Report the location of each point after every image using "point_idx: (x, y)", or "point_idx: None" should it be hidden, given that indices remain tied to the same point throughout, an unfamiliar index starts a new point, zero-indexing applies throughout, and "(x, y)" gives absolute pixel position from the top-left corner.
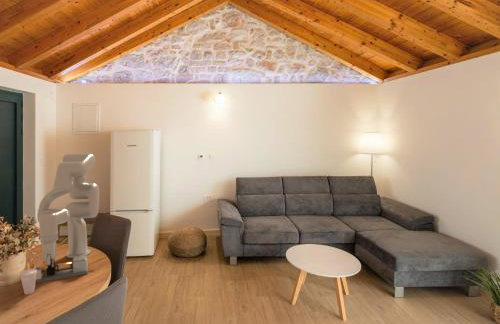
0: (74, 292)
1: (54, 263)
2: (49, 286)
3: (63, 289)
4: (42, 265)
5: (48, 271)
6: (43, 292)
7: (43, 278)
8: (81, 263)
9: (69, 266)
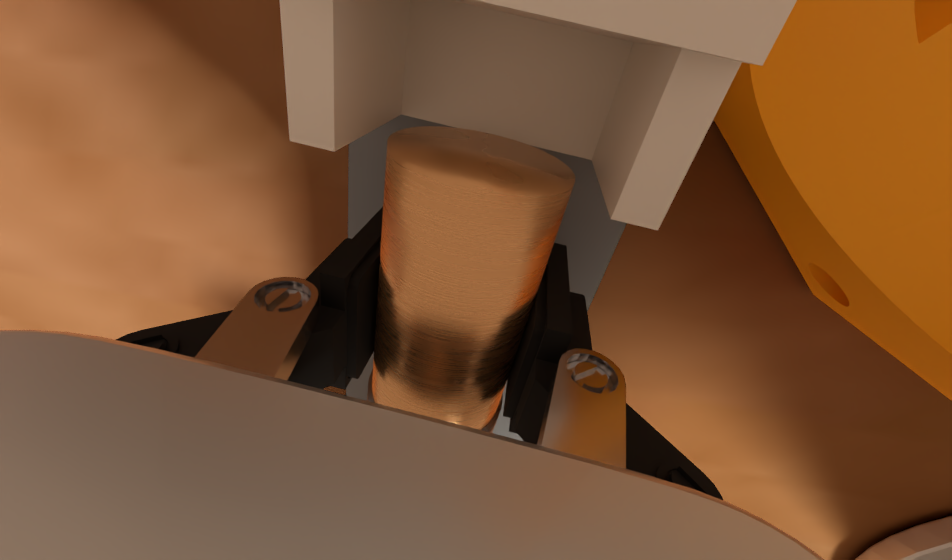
0: (13, 329)
1: (514, 422)
2: (171, 176)
3: (74, 278)
4: (651, 217)
5: (325, 259)
6: (10, 92)
7: (372, 137)
8: None
9: None
